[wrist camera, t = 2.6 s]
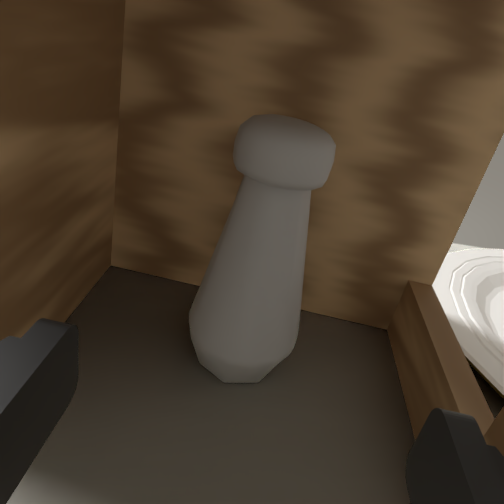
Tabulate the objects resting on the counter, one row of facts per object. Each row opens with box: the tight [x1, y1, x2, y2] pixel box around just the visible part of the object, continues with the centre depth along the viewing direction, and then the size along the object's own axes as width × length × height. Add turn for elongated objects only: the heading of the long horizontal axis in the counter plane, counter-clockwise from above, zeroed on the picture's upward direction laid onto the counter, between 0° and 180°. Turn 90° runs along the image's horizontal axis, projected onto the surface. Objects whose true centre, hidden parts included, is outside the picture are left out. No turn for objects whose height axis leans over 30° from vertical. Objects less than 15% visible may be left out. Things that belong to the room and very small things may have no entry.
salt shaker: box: [189, 114, 336, 383], centre depth 21 cm, size 6×6×13 cm
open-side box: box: [0, 0, 504, 456], centre depth 19 cm, size 22×16×24 cm
